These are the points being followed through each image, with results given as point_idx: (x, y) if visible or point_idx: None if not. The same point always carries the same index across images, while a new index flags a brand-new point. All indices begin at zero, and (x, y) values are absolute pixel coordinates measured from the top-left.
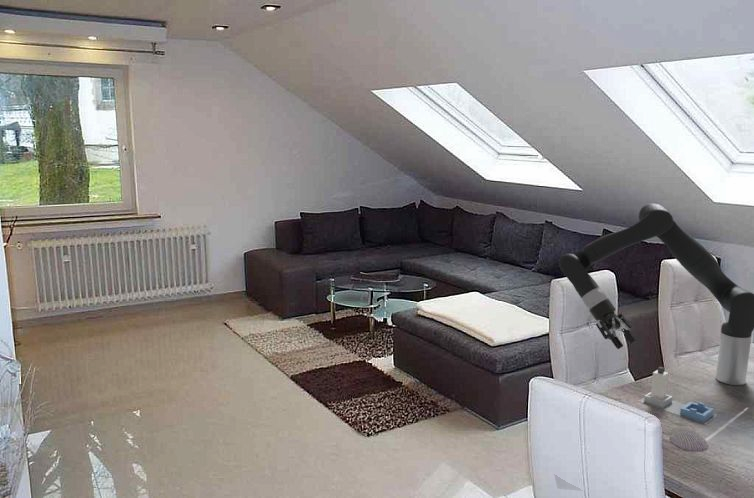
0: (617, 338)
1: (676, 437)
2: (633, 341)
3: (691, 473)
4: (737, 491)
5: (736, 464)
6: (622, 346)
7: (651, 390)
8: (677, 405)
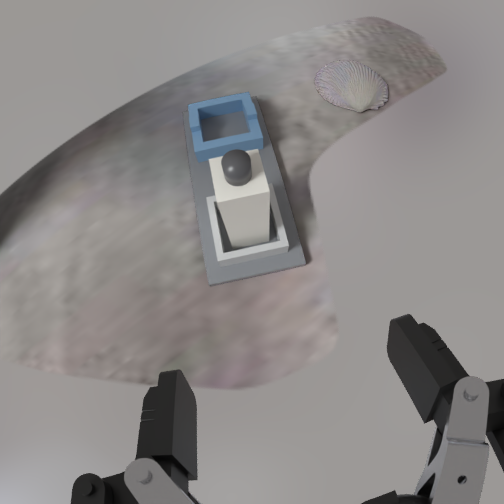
0: (443, 364)
1: (382, 88)
2: (185, 380)
3: (419, 54)
4: (387, 20)
5: (333, 32)
6: (398, 317)
7: (268, 226)
8: None
